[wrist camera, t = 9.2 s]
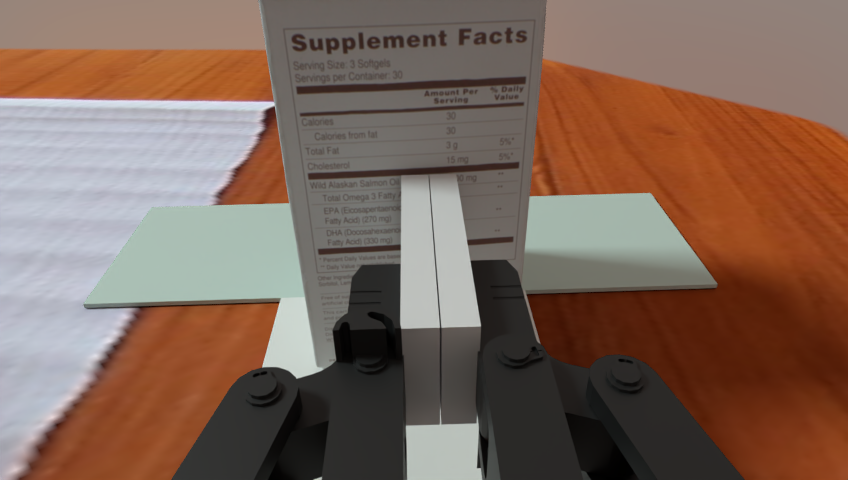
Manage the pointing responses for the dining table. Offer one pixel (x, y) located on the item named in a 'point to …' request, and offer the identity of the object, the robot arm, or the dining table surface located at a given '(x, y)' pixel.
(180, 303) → the t mat
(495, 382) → the robot arm
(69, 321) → the dining table surface
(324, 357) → the supplement box
